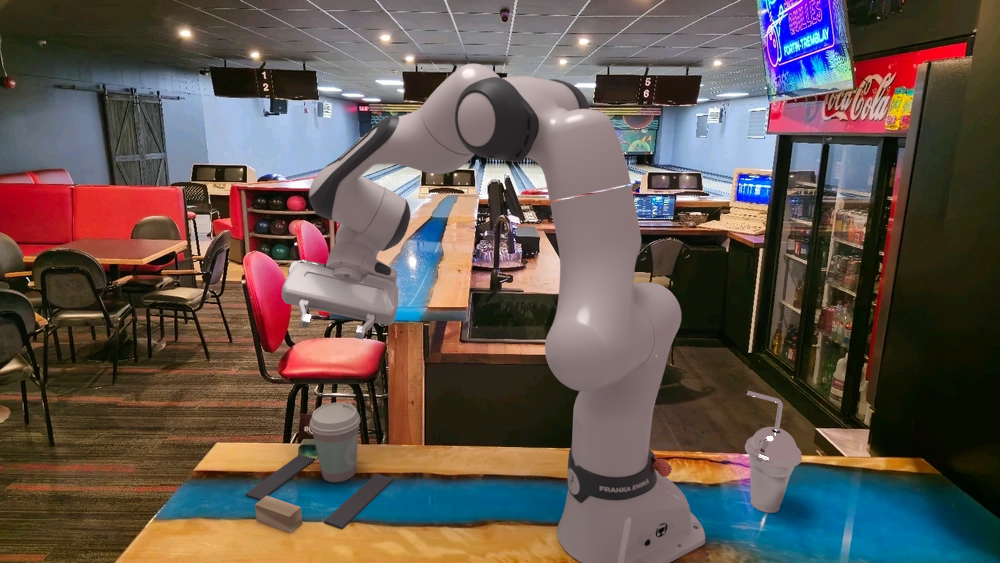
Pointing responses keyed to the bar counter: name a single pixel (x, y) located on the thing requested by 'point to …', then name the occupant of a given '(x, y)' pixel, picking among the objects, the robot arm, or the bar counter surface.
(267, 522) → the maple block
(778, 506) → the cup with straw
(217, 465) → the bar counter surface
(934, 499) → the bar counter surface
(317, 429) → the coffee cup
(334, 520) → the gutter strips
